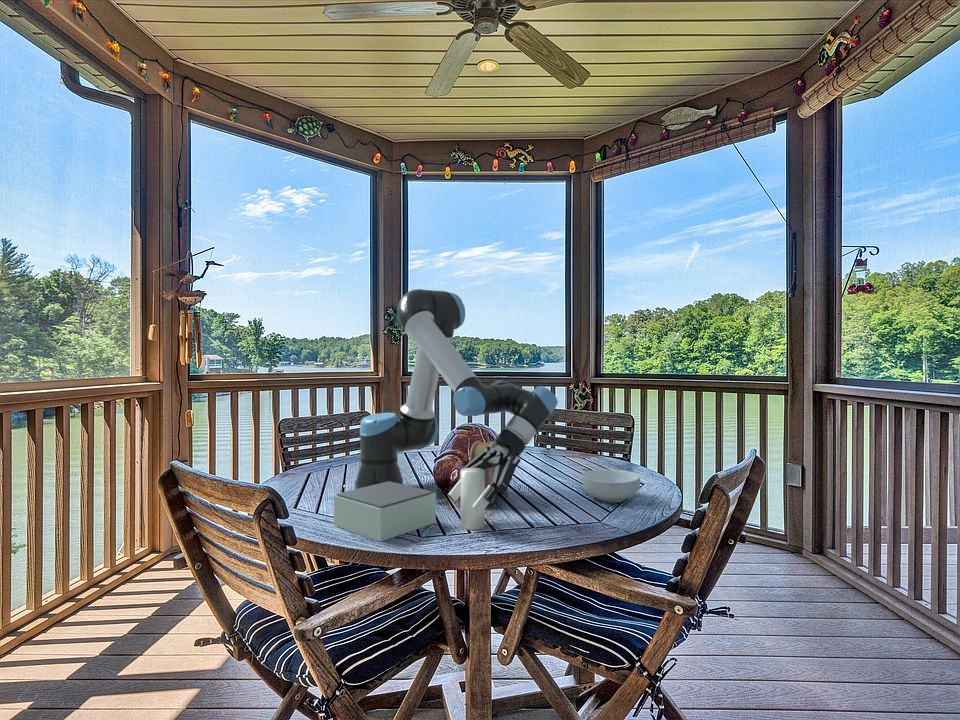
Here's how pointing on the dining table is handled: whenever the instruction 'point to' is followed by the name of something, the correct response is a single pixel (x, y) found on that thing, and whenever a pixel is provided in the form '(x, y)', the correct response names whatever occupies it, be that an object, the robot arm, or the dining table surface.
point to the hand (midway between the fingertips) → (463, 503)
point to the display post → (472, 498)
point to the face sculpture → (489, 472)
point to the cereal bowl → (611, 484)
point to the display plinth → (384, 510)
